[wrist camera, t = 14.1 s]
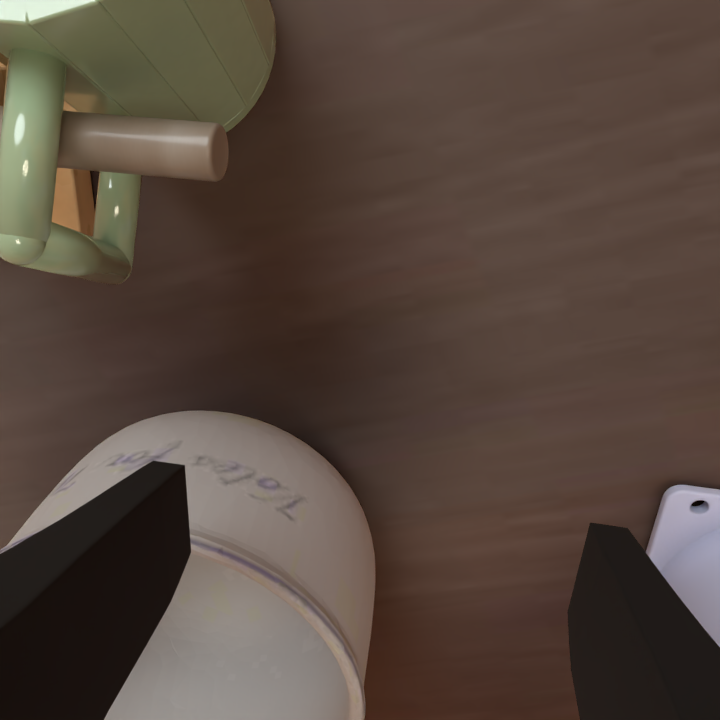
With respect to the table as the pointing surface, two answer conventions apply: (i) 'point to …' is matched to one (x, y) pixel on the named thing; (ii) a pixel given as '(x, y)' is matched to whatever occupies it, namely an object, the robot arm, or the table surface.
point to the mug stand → (127, 155)
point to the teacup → (244, 574)
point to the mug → (112, 106)
